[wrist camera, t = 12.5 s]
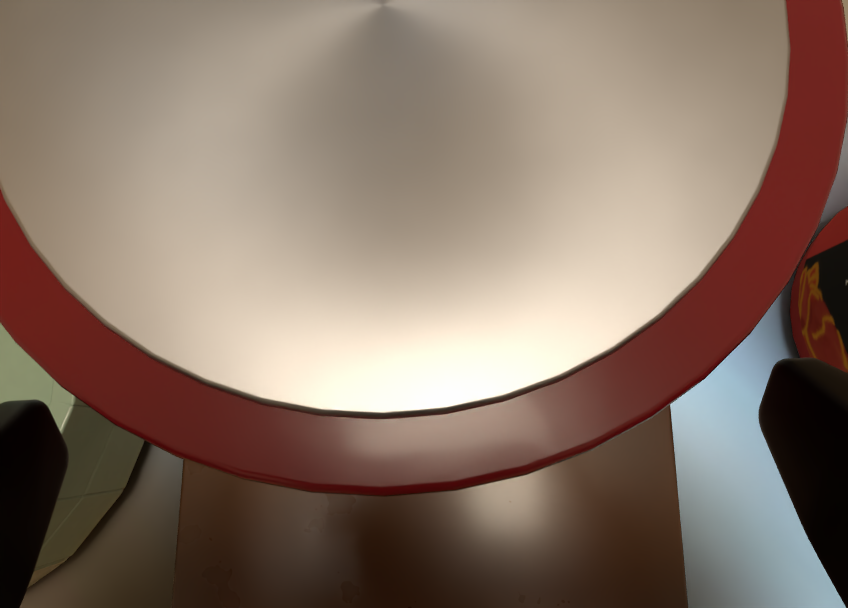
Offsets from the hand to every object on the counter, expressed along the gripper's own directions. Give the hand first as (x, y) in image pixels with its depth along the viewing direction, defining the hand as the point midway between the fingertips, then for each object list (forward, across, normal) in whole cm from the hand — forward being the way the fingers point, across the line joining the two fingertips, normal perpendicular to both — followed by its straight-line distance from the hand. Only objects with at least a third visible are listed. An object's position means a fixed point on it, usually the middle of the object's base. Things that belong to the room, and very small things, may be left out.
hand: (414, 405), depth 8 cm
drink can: (+7, 0, +4) cm, 8 cm away
